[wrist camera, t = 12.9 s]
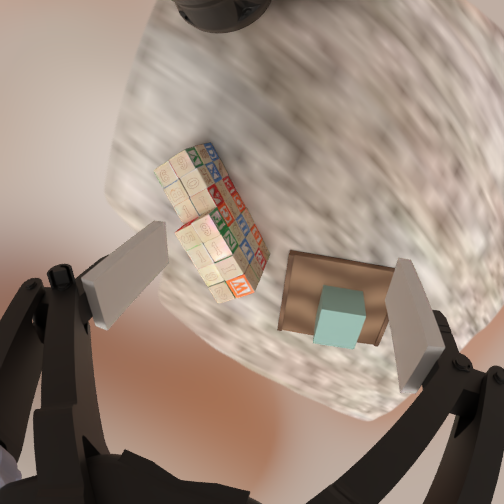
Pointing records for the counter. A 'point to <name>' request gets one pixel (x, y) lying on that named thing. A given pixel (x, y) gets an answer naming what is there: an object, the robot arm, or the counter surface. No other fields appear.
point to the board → (337, 275)
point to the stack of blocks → (214, 223)
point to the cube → (339, 317)
